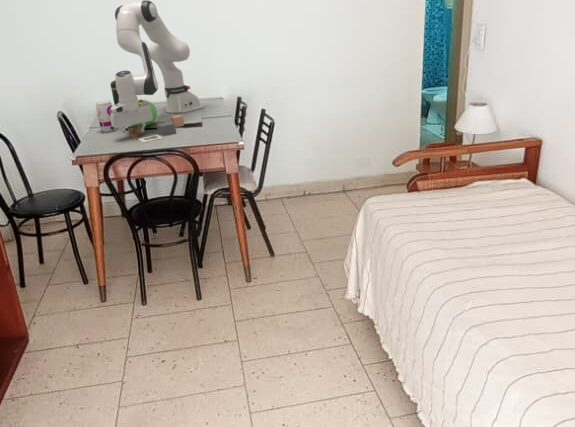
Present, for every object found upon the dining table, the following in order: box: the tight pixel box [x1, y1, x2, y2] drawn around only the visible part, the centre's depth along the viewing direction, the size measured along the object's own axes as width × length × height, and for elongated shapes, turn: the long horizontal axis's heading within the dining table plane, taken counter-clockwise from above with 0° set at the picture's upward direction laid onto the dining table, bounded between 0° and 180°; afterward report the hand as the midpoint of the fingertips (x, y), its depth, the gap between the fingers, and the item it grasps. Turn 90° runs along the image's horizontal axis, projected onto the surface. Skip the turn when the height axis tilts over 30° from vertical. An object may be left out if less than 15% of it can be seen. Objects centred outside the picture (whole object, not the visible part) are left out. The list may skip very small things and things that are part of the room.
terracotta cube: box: [169, 114, 185, 128], centre depth 274 cm, size 5×5×5 cm
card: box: [137, 134, 163, 143], centre depth 254 cm, size 10×8×1 cm
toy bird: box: [130, 99, 158, 128], centre depth 276 cm, size 18×17×15 cm
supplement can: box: [95, 100, 118, 133], centre depth 274 cm, size 8×8×15 cm
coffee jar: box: [110, 80, 119, 106], centre depth 316 cm, size 10×8×19 cm
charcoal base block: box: [156, 120, 177, 137], centre depth 261 cm, size 7×7×5 cm
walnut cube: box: [126, 125, 143, 139], centre depth 260 cm, size 5×5×5 cm
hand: (135, 133), depth 260 cm, fingers open, 6 cm apart
